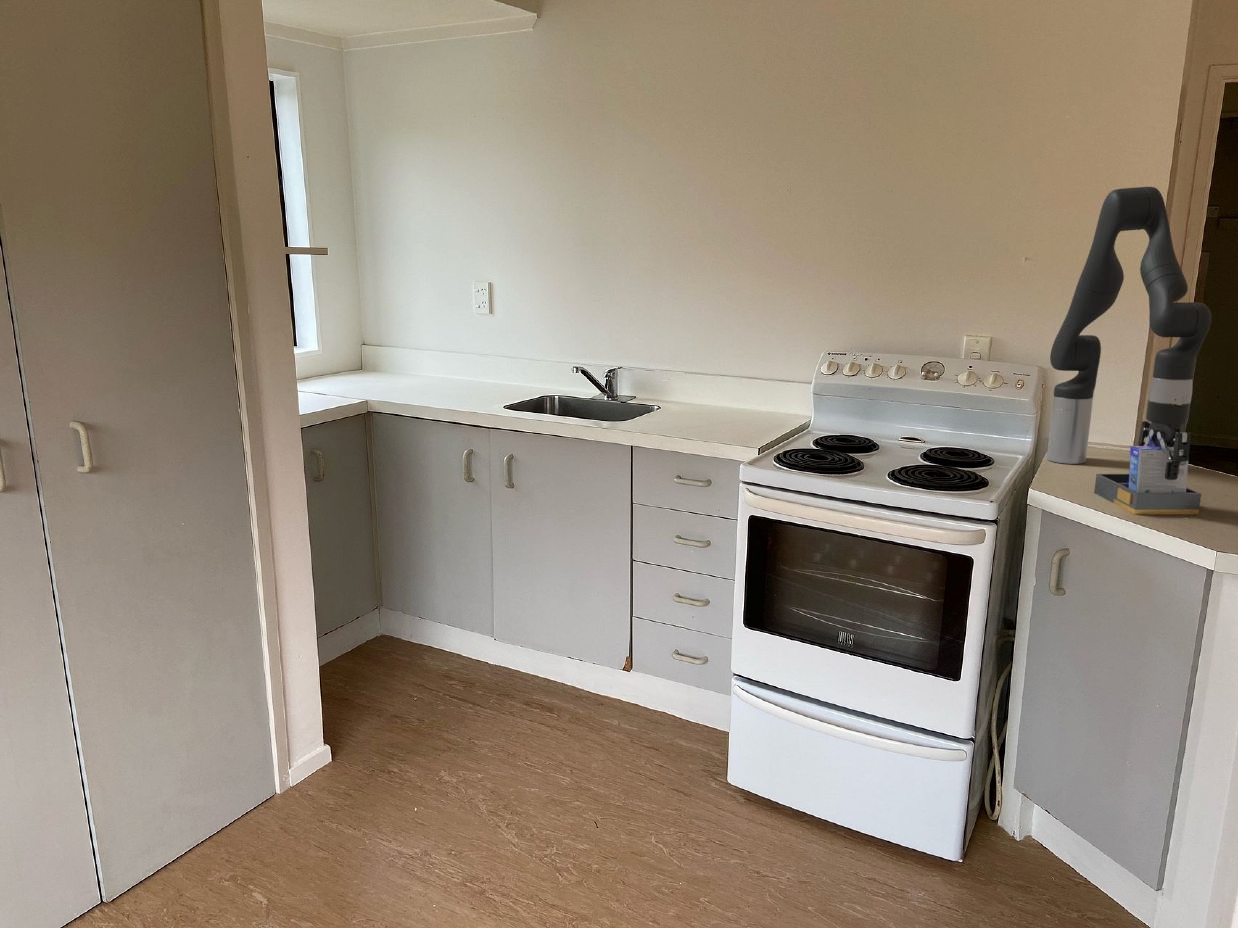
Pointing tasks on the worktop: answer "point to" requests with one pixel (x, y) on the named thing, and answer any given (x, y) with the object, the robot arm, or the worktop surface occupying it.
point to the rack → (1145, 497)
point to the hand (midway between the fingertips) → (1159, 474)
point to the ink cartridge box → (1154, 471)
